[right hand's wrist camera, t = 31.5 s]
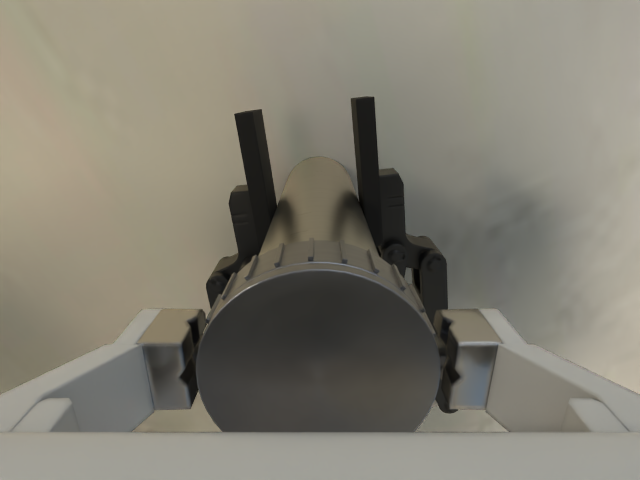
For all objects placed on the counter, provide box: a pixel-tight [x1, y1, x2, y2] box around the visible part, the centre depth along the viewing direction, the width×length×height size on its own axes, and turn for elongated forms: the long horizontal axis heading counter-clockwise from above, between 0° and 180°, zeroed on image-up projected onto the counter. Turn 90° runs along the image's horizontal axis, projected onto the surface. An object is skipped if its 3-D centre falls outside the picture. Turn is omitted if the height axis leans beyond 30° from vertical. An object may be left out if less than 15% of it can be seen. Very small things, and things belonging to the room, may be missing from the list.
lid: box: [196, 238, 440, 432], centre depth 9 cm, size 5×5×2 cm
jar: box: [259, 157, 379, 257], centre depth 17 cm, size 4×4×17 cm
